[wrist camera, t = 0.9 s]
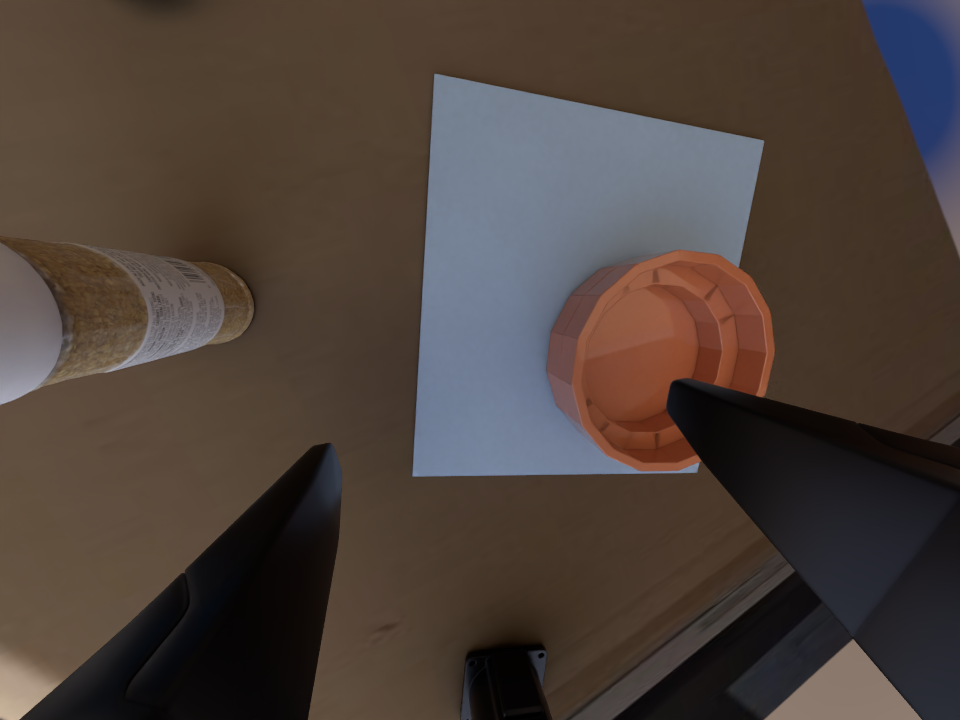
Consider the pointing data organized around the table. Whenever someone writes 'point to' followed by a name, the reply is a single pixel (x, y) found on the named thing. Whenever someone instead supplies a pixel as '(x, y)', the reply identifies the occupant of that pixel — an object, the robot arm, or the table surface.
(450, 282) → the blue mat
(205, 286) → the sprinkles bottle
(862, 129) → the table surface
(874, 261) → the table surface
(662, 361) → the bowl
